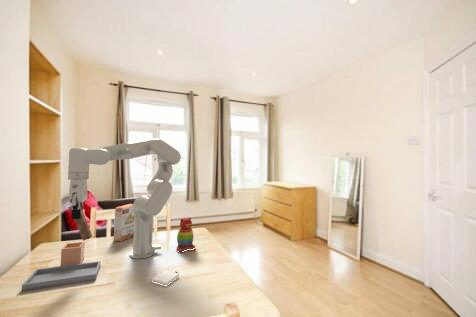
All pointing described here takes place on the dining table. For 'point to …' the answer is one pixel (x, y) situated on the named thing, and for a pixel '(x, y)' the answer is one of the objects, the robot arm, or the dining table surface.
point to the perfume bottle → (165, 277)
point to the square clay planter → (72, 253)
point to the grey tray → (62, 275)
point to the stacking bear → (185, 235)
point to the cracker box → (124, 222)
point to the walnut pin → (83, 226)
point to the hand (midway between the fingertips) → (77, 217)
